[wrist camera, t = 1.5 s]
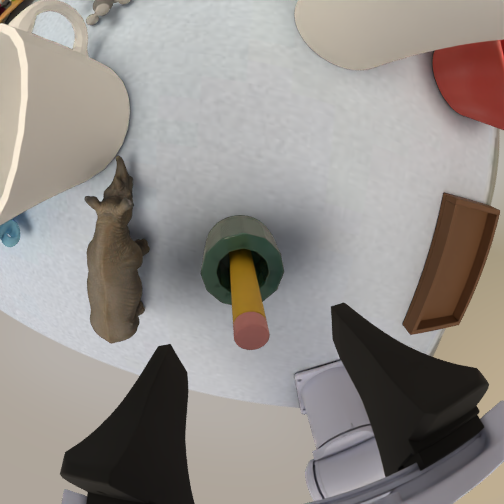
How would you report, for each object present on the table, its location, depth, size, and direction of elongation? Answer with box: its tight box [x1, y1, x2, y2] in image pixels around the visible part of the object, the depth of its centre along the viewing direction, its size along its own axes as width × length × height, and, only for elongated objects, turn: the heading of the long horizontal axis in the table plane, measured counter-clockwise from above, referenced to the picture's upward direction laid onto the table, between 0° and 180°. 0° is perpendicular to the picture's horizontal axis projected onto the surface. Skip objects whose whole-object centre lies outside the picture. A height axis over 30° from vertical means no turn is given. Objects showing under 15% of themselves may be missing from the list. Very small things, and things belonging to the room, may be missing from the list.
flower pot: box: [433, 40, 504, 130], centre depth 11 cm, size 11×11×10 cm
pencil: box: [229, 249, 269, 350], centre depth 16 cm, size 2×2×10 cm
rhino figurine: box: [85, 156, 150, 343], centre depth 17 cm, size 4×14×6 cm, turn 168°
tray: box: [403, 193, 500, 335], centre depth 23 cm, size 15×9×2 cm, turn 176°
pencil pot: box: [201, 215, 284, 305], centre depth 19 cm, size 5×5×4 cm
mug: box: [0, 0, 130, 225], centre depth 9 cm, size 10×12×12 cm
